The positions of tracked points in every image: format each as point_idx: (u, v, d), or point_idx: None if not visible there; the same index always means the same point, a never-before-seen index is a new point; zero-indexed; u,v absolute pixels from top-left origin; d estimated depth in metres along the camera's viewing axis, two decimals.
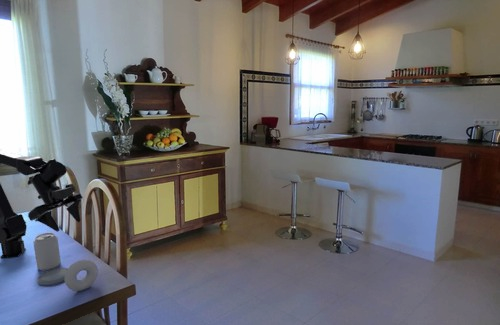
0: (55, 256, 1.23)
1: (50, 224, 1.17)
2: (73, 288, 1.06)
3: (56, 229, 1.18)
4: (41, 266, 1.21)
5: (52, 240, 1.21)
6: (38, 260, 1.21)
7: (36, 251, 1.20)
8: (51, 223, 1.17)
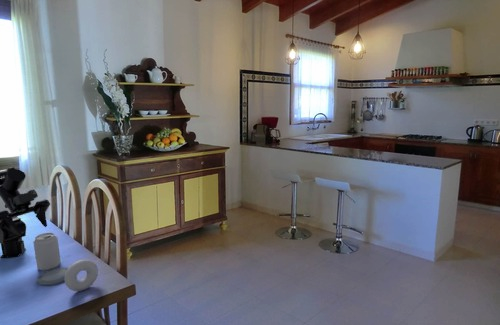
0: (55, 256, 1.23)
1: (12, 229, 1.21)
2: (73, 288, 1.06)
3: (18, 233, 1.21)
4: (41, 266, 1.21)
5: (52, 240, 1.21)
6: (38, 260, 1.21)
7: (36, 251, 1.20)
8: (12, 228, 1.21)
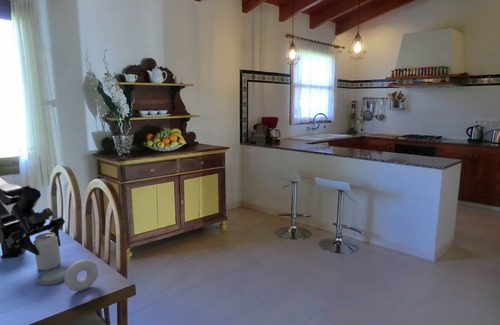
0: (55, 256, 1.23)
1: (30, 248, 1.19)
2: (73, 288, 1.06)
3: (36, 253, 1.19)
4: (41, 266, 1.21)
5: (52, 240, 1.21)
6: (38, 260, 1.20)
7: None
8: (30, 248, 1.19)
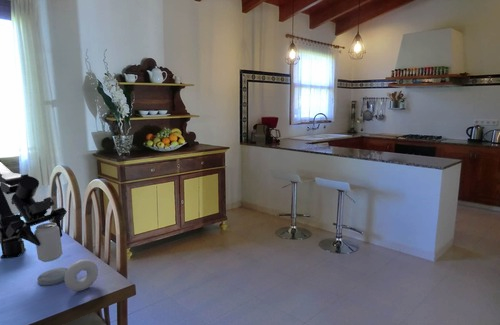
0: (57, 247, 1.18)
1: (30, 239, 1.14)
2: (73, 288, 1.06)
3: (37, 243, 1.14)
4: (42, 257, 1.16)
5: (54, 230, 1.17)
6: (39, 251, 1.16)
7: None
8: (31, 238, 1.14)
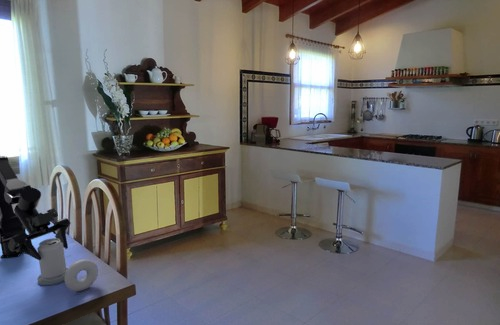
0: (61, 264, 1.15)
1: (31, 253, 1.10)
2: (73, 288, 1.06)
3: (38, 258, 1.10)
4: (45, 274, 1.13)
5: (57, 246, 1.13)
6: (42, 268, 1.13)
7: None
8: (31, 252, 1.10)
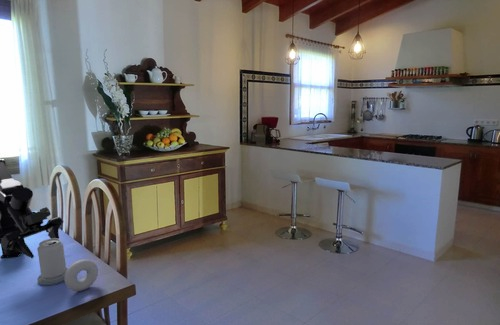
0: (61, 264, 1.15)
1: (24, 251, 1.12)
2: (73, 288, 1.06)
3: (30, 256, 1.12)
4: (45, 274, 1.13)
5: (57, 246, 1.13)
6: (42, 268, 1.13)
7: (40, 259, 1.12)
8: (24, 250, 1.12)
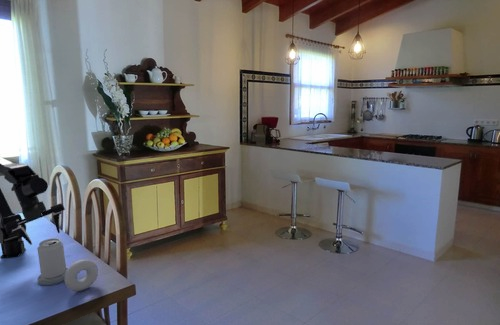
0: (61, 264, 1.15)
1: (24, 237, 1.22)
2: (73, 288, 1.06)
3: (29, 243, 1.22)
4: (45, 274, 1.13)
5: (57, 246, 1.13)
6: (42, 268, 1.13)
7: (40, 259, 1.12)
8: (24, 237, 1.22)
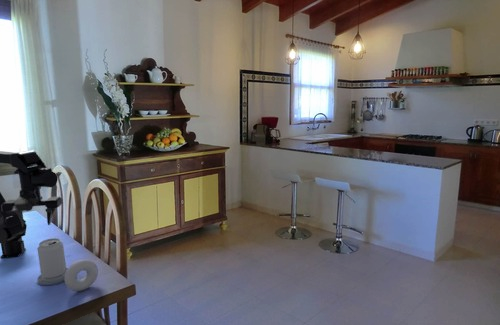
0: (61, 264, 1.15)
1: None
2: (73, 288, 1.06)
3: None
4: (45, 274, 1.13)
5: (57, 246, 1.13)
6: (42, 268, 1.13)
7: (40, 259, 1.12)
8: None
